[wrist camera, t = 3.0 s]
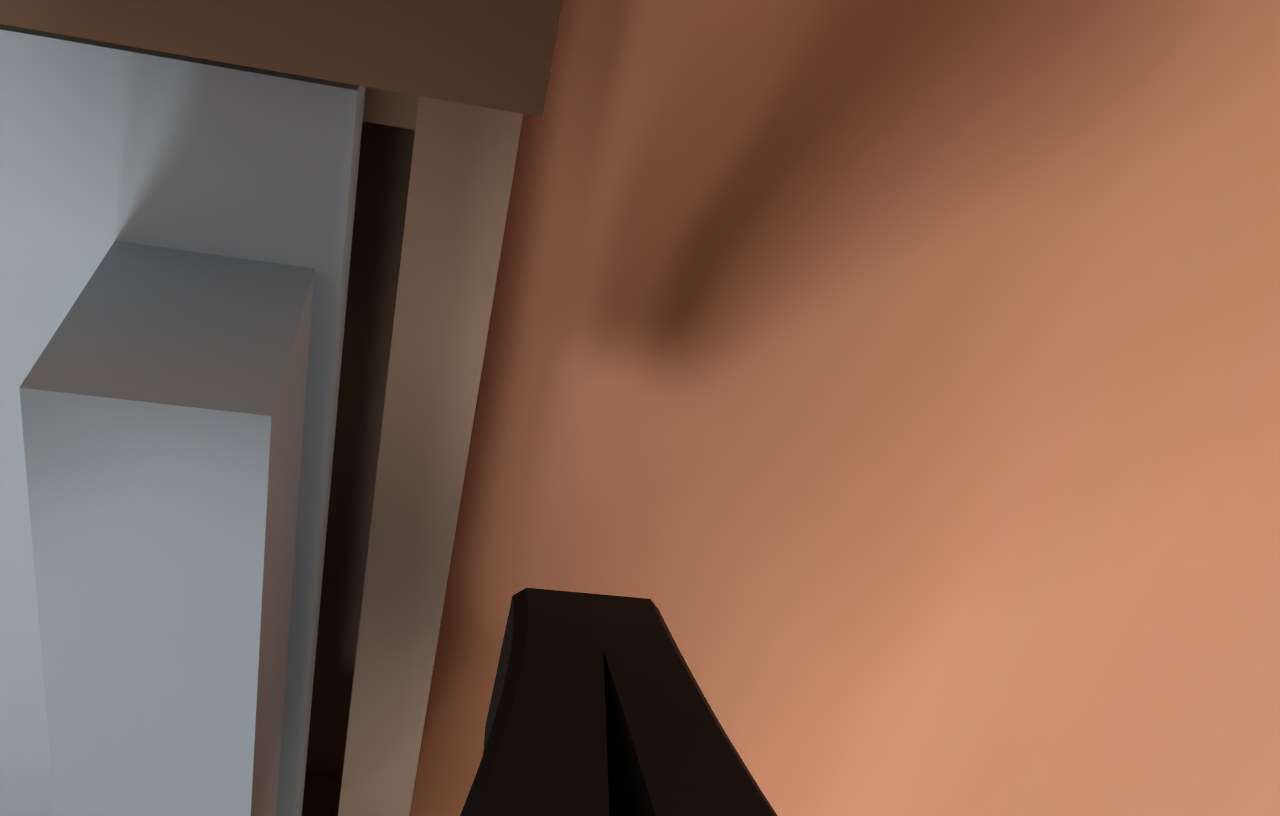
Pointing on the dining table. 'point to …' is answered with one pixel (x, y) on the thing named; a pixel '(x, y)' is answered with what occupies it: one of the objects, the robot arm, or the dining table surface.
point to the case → (383, 319)
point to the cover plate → (165, 422)
